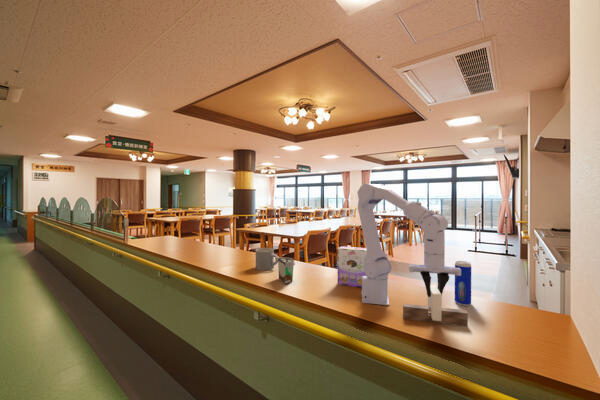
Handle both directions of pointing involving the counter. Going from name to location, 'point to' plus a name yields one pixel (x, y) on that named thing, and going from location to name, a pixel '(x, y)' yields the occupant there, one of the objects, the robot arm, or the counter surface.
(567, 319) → the counter surface
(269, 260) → the coffee mug
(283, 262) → the food container
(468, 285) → the beverage can
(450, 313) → the walnut slotted plate
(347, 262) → the candy box
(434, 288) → the cream rectangular block
